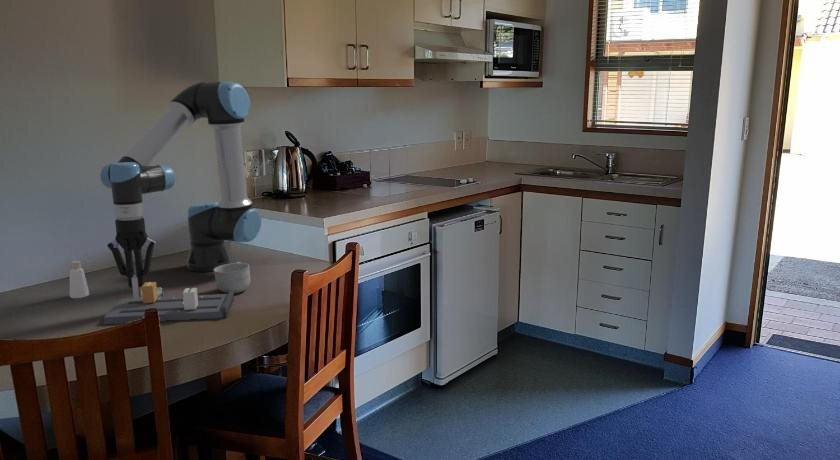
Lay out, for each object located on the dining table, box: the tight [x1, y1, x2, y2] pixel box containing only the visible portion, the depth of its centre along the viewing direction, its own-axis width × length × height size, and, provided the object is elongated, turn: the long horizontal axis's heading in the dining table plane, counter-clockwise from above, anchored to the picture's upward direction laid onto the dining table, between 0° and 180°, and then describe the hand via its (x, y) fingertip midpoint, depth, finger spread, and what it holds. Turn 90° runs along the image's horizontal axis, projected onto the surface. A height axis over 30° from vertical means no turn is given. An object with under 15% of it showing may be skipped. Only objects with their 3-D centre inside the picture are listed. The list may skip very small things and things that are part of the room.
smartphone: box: [141, 286, 164, 298], centre depth 197 cm, size 7×1×15 cm
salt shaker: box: [69, 260, 90, 299], centre depth 198 cm, size 5×5×11 cm
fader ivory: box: [182, 287, 198, 310], centre depth 180 cm, size 4×3×5 cm
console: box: [103, 290, 235, 325], centre depth 184 cm, size 16×32×3 cm, turn 98°
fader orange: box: [141, 281, 158, 303], centre depth 186 cm, size 4×3×5 cm
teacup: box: [213, 261, 251, 294], centre depth 204 cm, size 14×11×8 cm
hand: (137, 297), depth 186 cm, fingers closed
